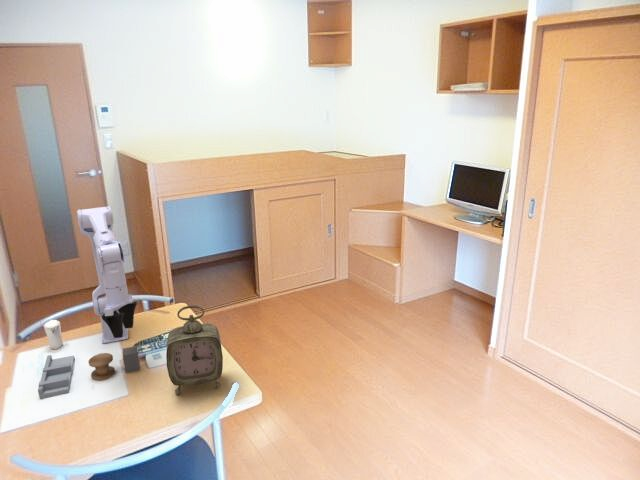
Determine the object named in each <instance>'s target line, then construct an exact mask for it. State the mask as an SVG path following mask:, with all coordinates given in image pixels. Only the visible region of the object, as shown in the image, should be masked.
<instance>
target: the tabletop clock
mask: <svg viewBox="0 0 640 480" xmlns="http://www.w3.org/2000/svg"><path fill="white" fill-rule="evenodd" d="M187 309H198V310H201V312H202V313H201V314H199V315H197V316H194V315H193V314H190V315H189V316H188V317H182V316H181V315H180V313H181V312H182V311H184V310H187ZM176 315H177V317H178V319H180V320H182V321H185V322H184V324H183V325H182V326H177V327H175V328H172V329H171V330H169V331H168V335H167V341H166V354H165V355H166V369H167V373H168V374H167V375H168V378H169V379H170V381H171V383H172V385H174V386H178V387H177V388H176V389H175V390H174V394H175V395H180V394H181V392H182V390H181V387H182V386H183V387H184V386H191V385H200V384H204V383H209V382H210V383H211V382H214V387H215V388H216V389H220V387H221V382H219V381H217V380H218V379H220V378H221V376H222V373H223V369H224V368H223V363H224V362H223V361H224V359H223V358H224V357H223V349H222V343H221V336H220V332H219V329H218V326H217V325H216V324H213V323H202V322H201V321H199V319H201V318H202V317H203V316H204V315H205V309H204V308H203V307H202V306H199V305H195V304H194V305H193V304H192V305H187V306H183V307H181V308H180V309H179V310H178V311H177V314H176Z"/></svg>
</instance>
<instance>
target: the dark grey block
mask: <svg viewBox="0 0 640 480" xmlns="http://www.w3.org/2000/svg"><path fill="white" fill-rule="evenodd" d="M122 359H123V367H124V373H125V374H128V373H132V372H138V371H140V370H141V367H140V358H139V351H138V345H134V346H130V347H123V348H122Z"/></svg>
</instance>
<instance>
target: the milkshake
mask: <svg viewBox="0 0 640 480" xmlns="http://www.w3.org/2000/svg"><path fill="white" fill-rule="evenodd" d="M39 322H40V324H41V325H42V326H43V328H44V331H45V334H46V336H47V340H48V343H49V346H50V349H52V350H57V349H60V348H62V347H63V339H62V330H61V329H62V328H61V322H60V321H59V320H57V319H50V320H49V321H47V322H45V323H44V324H43V322H41V321H39Z"/></svg>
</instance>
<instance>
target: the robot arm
mask: <svg viewBox="0 0 640 480" xmlns="http://www.w3.org/2000/svg"><path fill="white" fill-rule="evenodd" d="M76 216H77V217H76V218H77V222H78V226H79V227H78V228H79V231H80V233H81V236H86V237H87V238H88V239H89V240H90V242H91V243H90V244H91V248H92V253H93V258H94V259H93V260H94V262H95V263H94V264H95V267H96V268H95V269H96V274H97V278H98V286H97V287H96V288H95V289H94V290H93V291H92V294H91V296H92V298H91V299H92V305H93V310H94V313H95V315H96V316H99V318H100V323H101V329H102V334H101V344H103V345H104V344H108V343H114V342H119V341H125V340H128V339H129V329H132V328H133V327H134V318H135V312H136V308H137V304H138V302H137V301H134V300H135V299H133V296H132V293H131V294H130V293H129V289H128V285H127V284H128V283H127V279H126V278H127V277H126V274H125V273H126V272H125V268H124V263H125V254H124V247H123V245H122V243H121V242H120V241H117V239H116V235H115V233H114V232H113V226H114V214H113V210H112V208H111V207H110V206H109V205H107V206H101V207H92V208H85V209H77V211H76Z"/></svg>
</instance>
